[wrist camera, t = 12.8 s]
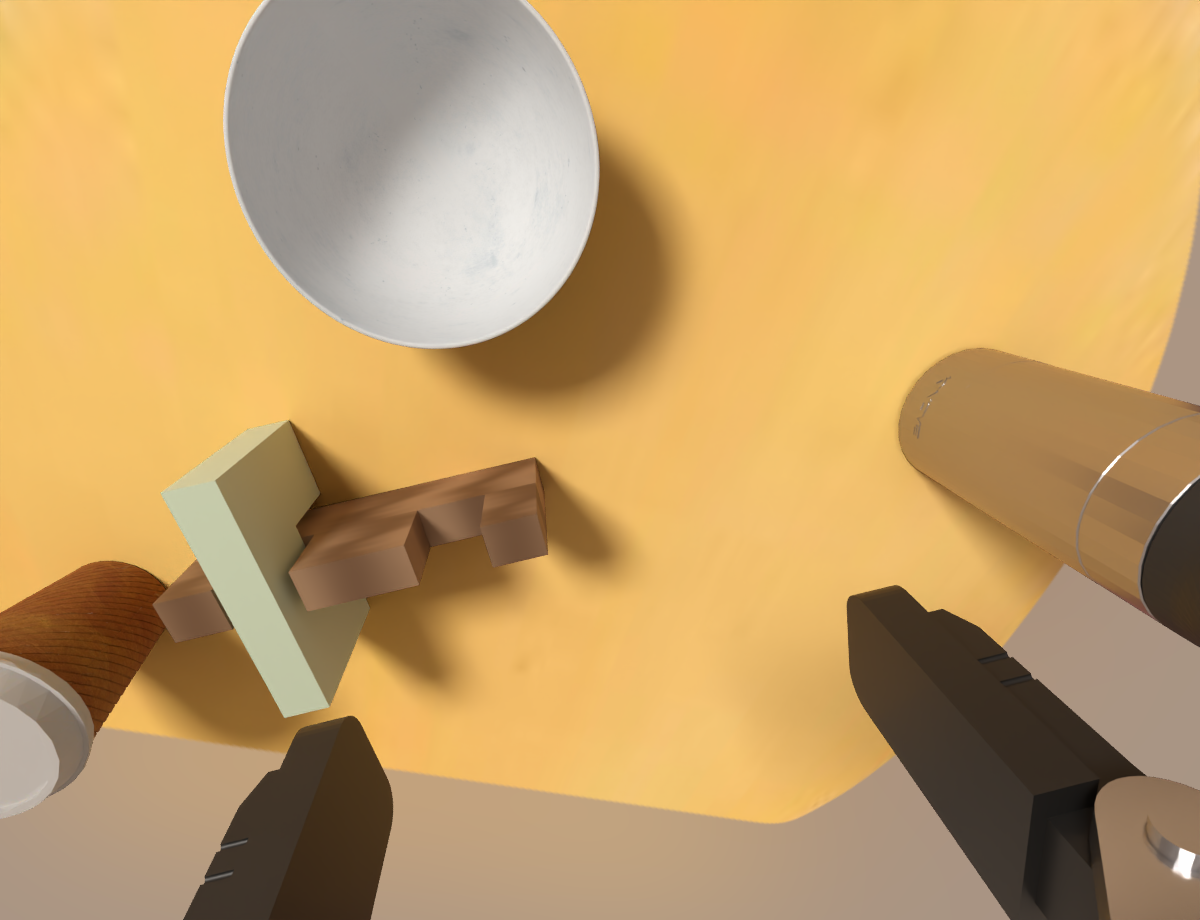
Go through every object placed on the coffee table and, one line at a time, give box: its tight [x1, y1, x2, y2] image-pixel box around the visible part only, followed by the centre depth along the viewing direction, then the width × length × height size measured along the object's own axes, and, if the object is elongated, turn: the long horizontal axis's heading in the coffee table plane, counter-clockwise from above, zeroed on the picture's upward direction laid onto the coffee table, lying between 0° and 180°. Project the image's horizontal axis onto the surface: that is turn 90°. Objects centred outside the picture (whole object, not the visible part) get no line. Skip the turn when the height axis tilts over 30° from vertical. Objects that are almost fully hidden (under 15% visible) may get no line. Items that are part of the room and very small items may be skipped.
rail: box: [152, 457, 548, 643], centre depth 34 cm, size 20×2×8 cm, turn 101°
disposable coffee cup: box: [0, 561, 166, 819], centre depth 33 cm, size 10×10×12 cm
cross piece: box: [161, 420, 370, 718], centre depth 34 cm, size 14×2×9 cm, turn 11°
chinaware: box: [223, 0, 600, 349], centre depth 28 cm, size 15×15×8 cm
